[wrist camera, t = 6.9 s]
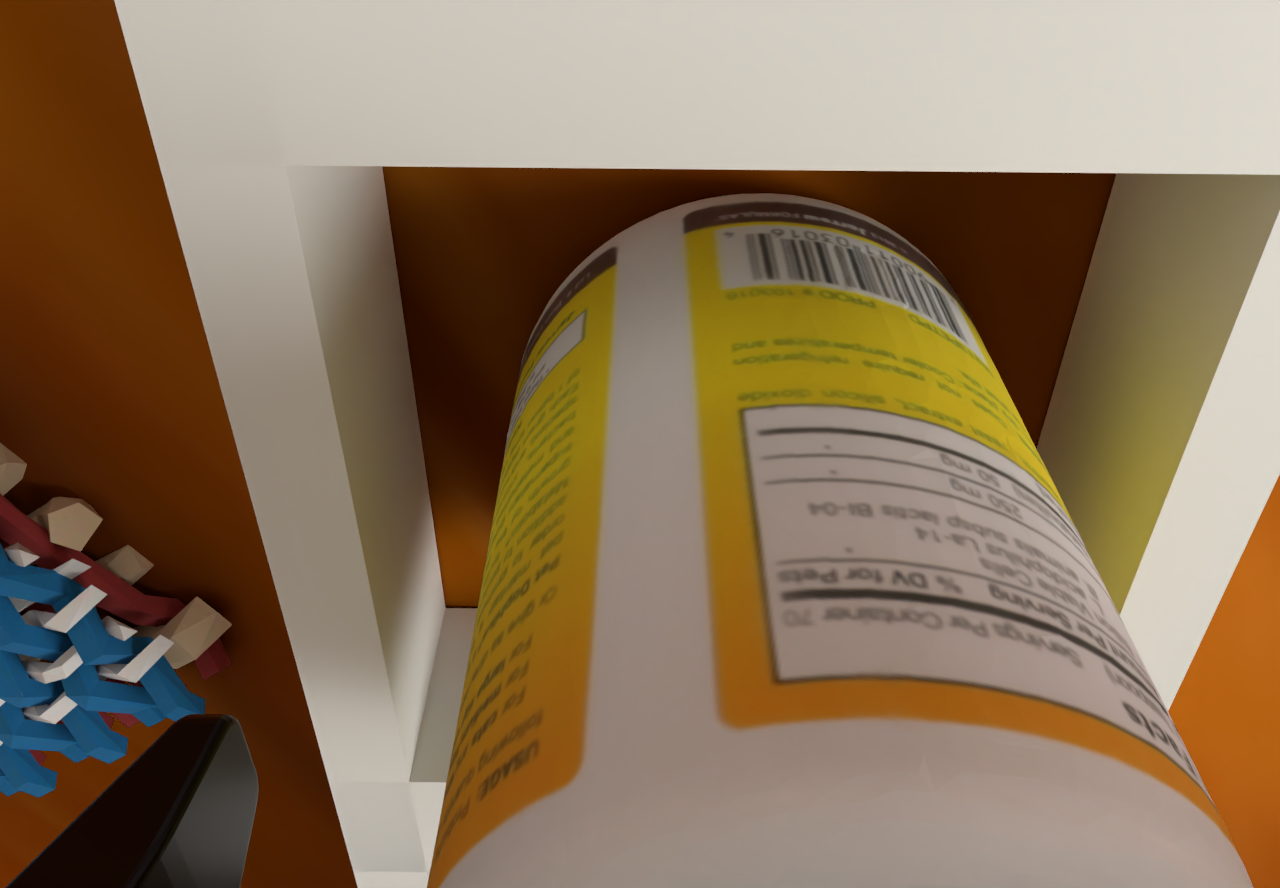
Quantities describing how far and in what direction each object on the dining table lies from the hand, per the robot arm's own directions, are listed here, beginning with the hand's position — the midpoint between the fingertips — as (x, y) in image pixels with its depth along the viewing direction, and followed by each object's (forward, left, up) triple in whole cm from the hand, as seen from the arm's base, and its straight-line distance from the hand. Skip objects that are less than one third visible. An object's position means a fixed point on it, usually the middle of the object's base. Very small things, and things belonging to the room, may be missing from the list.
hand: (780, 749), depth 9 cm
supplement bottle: (0, 0, -6) cm, 6 cm away
